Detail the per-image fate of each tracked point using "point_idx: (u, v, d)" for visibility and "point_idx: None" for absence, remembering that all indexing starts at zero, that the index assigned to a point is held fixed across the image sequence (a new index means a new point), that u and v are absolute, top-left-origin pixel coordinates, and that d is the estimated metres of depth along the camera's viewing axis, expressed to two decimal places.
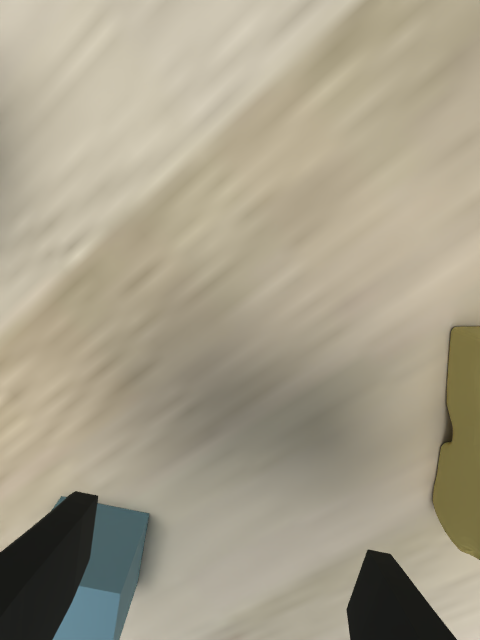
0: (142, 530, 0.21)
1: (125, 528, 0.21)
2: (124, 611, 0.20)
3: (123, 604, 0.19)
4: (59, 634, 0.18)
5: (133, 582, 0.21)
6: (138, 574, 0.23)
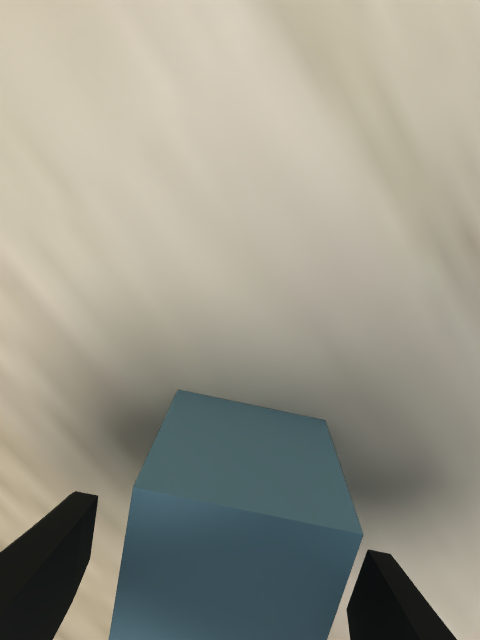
0: (170, 408, 0.12)
1: None
2: (284, 465, 0.10)
3: (233, 471, 0.10)
4: (247, 605, 0.09)
5: (272, 434, 0.12)
6: (300, 417, 0.13)
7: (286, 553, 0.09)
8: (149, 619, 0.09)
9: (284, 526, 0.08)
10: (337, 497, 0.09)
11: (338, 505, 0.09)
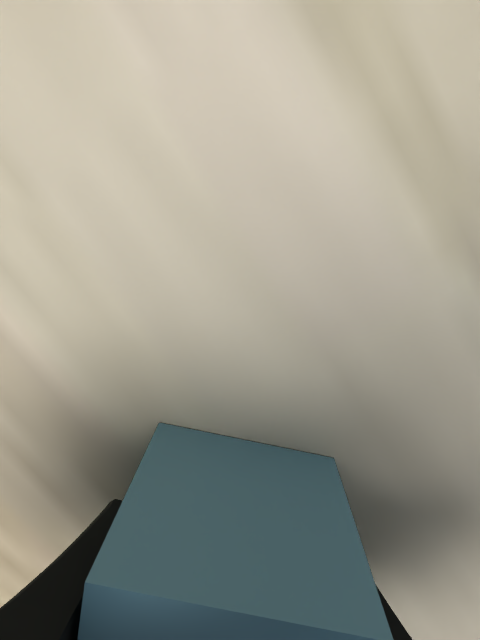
0: (147, 450, 0.10)
1: None
2: (287, 531, 0.08)
3: (222, 545, 0.07)
4: None
5: (271, 483, 0.09)
6: (304, 457, 0.11)
7: None
8: None
9: (288, 631, 0.06)
10: (356, 579, 0.07)
11: (358, 594, 0.07)
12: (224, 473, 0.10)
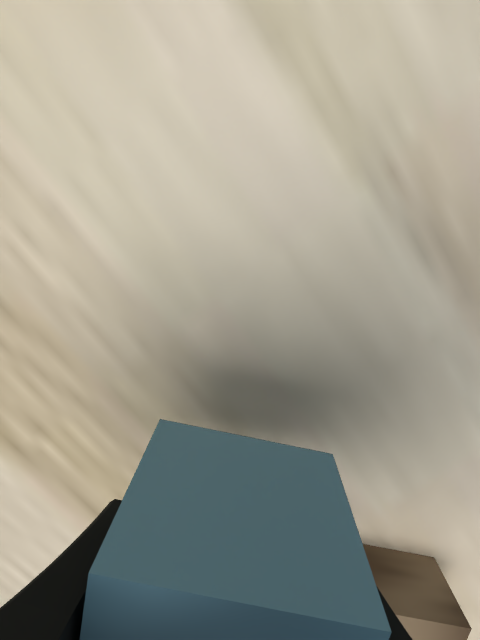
0: (148, 446, 0.10)
1: None
2: (287, 525, 0.08)
3: (222, 538, 0.08)
4: None
5: (271, 479, 0.10)
6: (304, 453, 0.11)
7: None
8: None
9: (287, 621, 0.06)
10: (354, 571, 0.07)
11: (357, 584, 0.07)
12: (224, 468, 0.10)
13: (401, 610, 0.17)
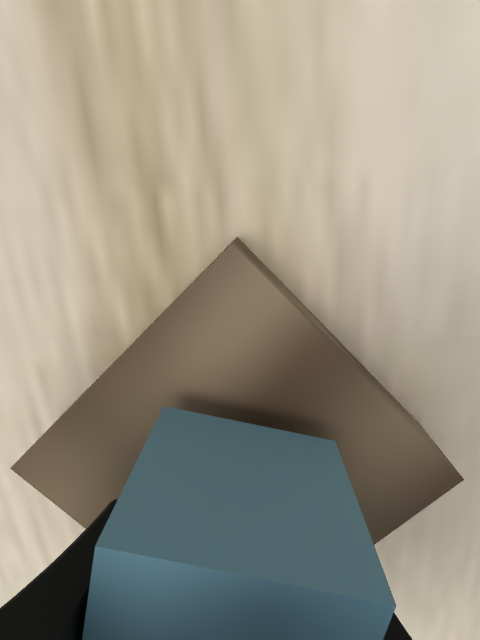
0: (153, 431, 0.10)
1: None
2: (291, 505, 0.08)
3: (227, 516, 0.08)
4: None
5: (274, 462, 0.10)
6: (306, 440, 0.11)
7: (295, 629, 0.07)
8: None
9: (293, 594, 0.07)
10: (358, 549, 0.07)
11: (361, 561, 0.07)
12: (228, 452, 0.10)
13: (405, 418, 0.13)
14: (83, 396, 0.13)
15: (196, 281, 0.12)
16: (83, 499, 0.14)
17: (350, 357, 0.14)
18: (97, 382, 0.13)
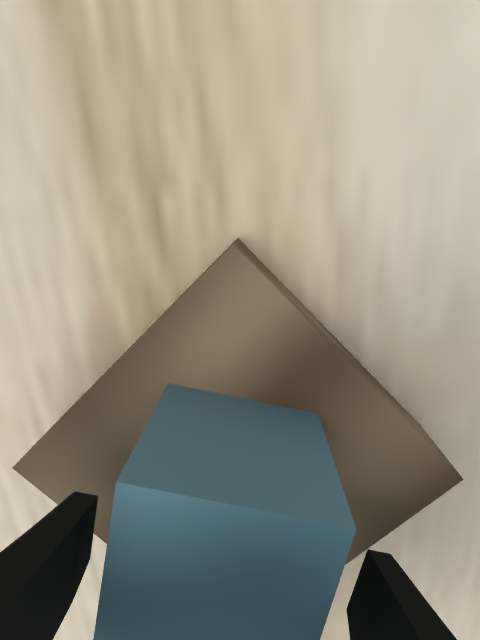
0: (159, 402, 0.12)
1: None
2: (275, 459, 0.10)
3: (222, 465, 0.09)
4: (237, 604, 0.09)
5: (263, 428, 0.11)
6: (293, 412, 0.13)
7: (276, 551, 0.08)
8: (135, 620, 0.09)
9: (274, 521, 0.08)
10: (329, 491, 0.09)
11: (330, 499, 0.09)
12: (224, 420, 0.11)
13: (405, 419, 0.13)
14: (85, 396, 0.13)
15: (197, 282, 0.12)
16: None
17: (350, 357, 0.14)
18: (99, 382, 0.13)
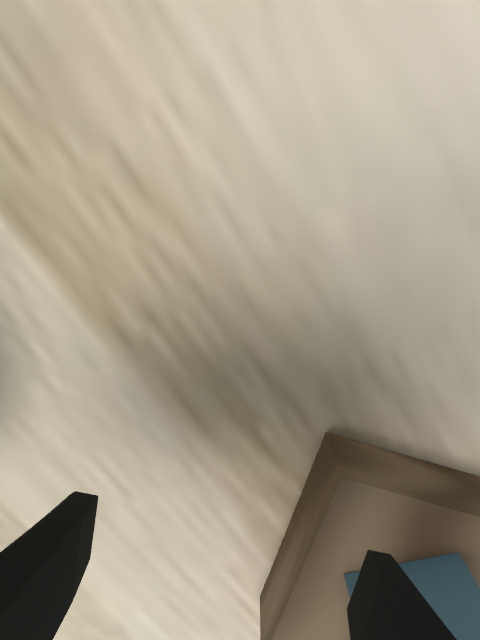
0: None
1: None
2: (456, 631, 0.14)
3: None
4: None
5: (431, 596, 0.16)
6: (440, 561, 0.17)
7: None
8: None
9: None
10: None
11: None
12: None
13: None
14: (288, 604, 0.18)
15: (329, 508, 0.17)
16: None
17: (452, 486, 0.18)
18: (293, 591, 0.18)
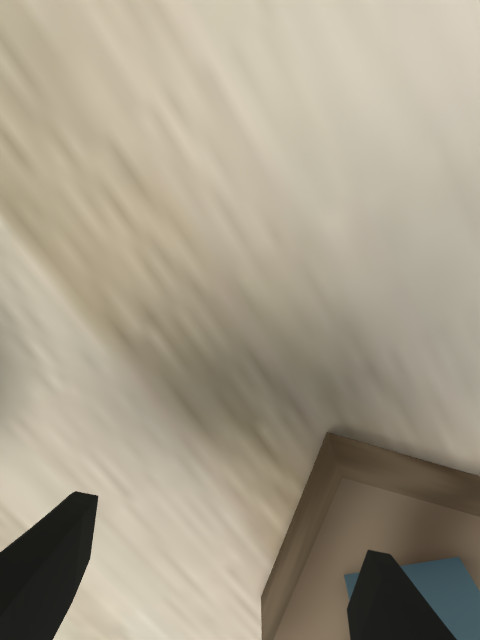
0: None
1: None
2: (456, 634, 0.14)
3: None
4: None
5: (431, 599, 0.16)
6: (441, 565, 0.17)
7: None
8: None
9: None
10: None
11: None
12: None
13: None
14: (289, 604, 0.18)
15: (330, 508, 0.17)
16: None
17: (453, 486, 0.18)
18: (294, 592, 0.18)
